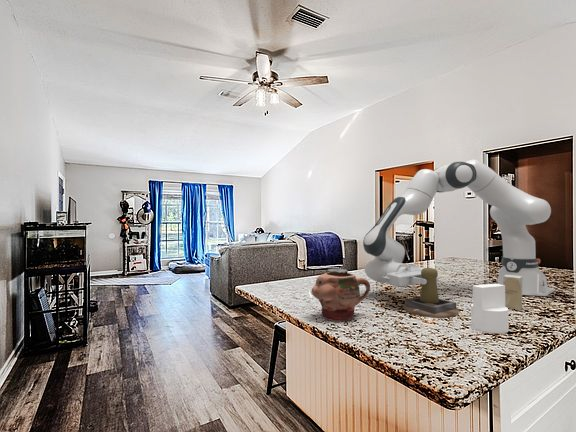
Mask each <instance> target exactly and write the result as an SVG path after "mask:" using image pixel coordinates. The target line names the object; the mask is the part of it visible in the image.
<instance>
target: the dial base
mask: <svg viewBox="0 0 576 432" xmlns="http://www.w3.org/2000/svg"><path fill="white" fill-rule="evenodd" d="M403 310H404V311H405V312H408V313H410V314H413V315H416V316H420V317H426V318H435V319H436V318H437V319H442V318H443V319H444V318H445V319H446V317H448V318H454V317H457V316H458V315H459V314H460V313H459V312H460V311H459V308H458V307H457V302H455V301H453V300H452V301H451V300H447V299H442V298H439V302H438V303H427V302H423V301H421V300H420V296H419V297H418V296H417V297H413V298H412V297H411V298H409V299H408V298H407V299H405V300H404V304H403ZM458 313H459V314H458ZM456 315H457V316H456ZM453 316H454V317H453Z"/></svg>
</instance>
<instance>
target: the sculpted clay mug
mask: <svg viewBox="0 0 576 432" xmlns="http://www.w3.org/2000/svg"><path fill="white" fill-rule="evenodd" d="M360 285H363V286H364V287H365V291H364V293H363V295H361V296H360V294H361V291H360ZM370 290H371V284H370V282H369V281H368V280H367V279H366V278H364V277H363V278H362V277H356V275H355V274H353V273H350V272H347V273H345V272H336V271H332V272H328V271H327V272H325V273H323V274H320V275H319V276H318V277H317V278H316V280H315V284H314V285H313V286H312V288H311V295H312V296H313V297H314V298H316V299H317V300H318V301H319V303H320V305H321V316H322V317H323V318H325V319H326V320H329V321H332V322H347V321H351V320H352V319H354V318H353V317H354V316H355V308H356V306H357V305H358V304H360V303H362V302H363V301H364V300H365V299H366V298H367V296H368V295H369V293H370Z"/></svg>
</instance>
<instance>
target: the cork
mask: <svg viewBox="0 0 576 432" xmlns="http://www.w3.org/2000/svg"><path fill="white" fill-rule="evenodd" d="M423 268H424V269H422V271H421V275H422V277H423V278H425V279H428V284H425V285H424V284H421V288H420V296H419V297H420V300H421V301H423V302H427V303H438V302H439V299H440V296H439V291H438V290H439V289H438V285H437V284H438V282H436V278H437V277H438V275H439V274H438V270H437V269H435V268H433V267H423Z"/></svg>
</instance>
